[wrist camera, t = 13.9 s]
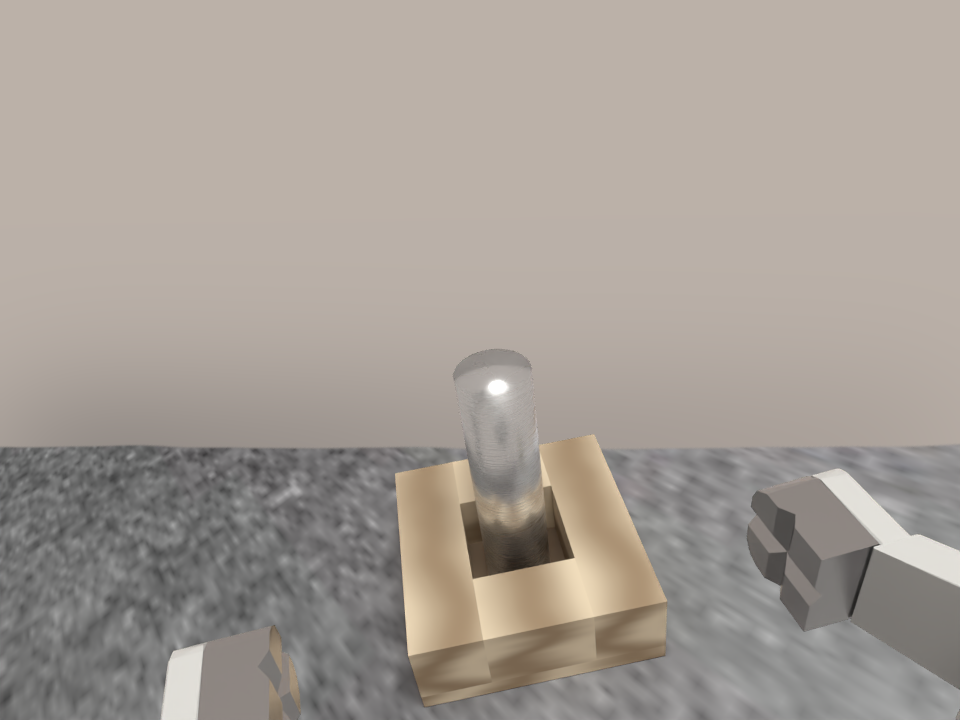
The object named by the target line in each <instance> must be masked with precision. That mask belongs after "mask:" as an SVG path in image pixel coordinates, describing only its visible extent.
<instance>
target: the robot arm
mask: <svg viewBox="0 0 960 720" xmlns="http://www.w3.org/2000/svg"><path fill="white" fill-rule="evenodd" d="M751 508H752V509H753V510H754V511H755V513H756V514H757V515H756V516H755V517H754V518H753V519H752V521H751V522H750V523H749V524H748V530H747V542H748V546H749V550H750V554H751V556H752V558H753V560H754V562H755V564H756V566H757V567H758V569H759V570H760V572H761V573H762V575H763V576H764V578H766V579H768V580H770V581H772V582H774V583H776V584H778V585H780V586H781V588H780V600H781V601H782V603H783V604H784V605H785V607H786V608H787V609H788V611H789V612H790V614H791V615H792V616H793V618H794V619H795V620H796V622H797V623H798V625H799V626H800V627H801V629H802V630H803V631H804V632H805V631H808V630H812V629H816V628H819V627H823V626H827V625H830V624H834V623H837V622H841V621H845V620H848V619H851V622H852V623H854V624H855V625H857V626H858V627H860V628H862V629H863V630H865V631H866V632H868V633H870V634H871V635H873V636H874V637H876V638H878V639H879V640H881V641H882V642H884V643H886V644H887V645H889V646H890V647H892V648H894V649H895V650H897V651H898V652H900V653H902V654H903V655H905V656H906V657H908V658H910V659H911V660H913V661H914V662H916V663H918V664H919V665H921V666H922V667H924V668H926V669H927V670H929V671H930V672H932V673H934V674H935V675H937V676H938V677H940V678H942V679H943V680H945V681H946V682H948V683H950V684H951V685H953V686H954V687H956V688H958V689H959V690H960V551H958V550H956V549H953V548H951V547H948V546H946V545H944V544H941V543H939V542H936V541H934V540H932V539H929V538H927V537H924V536H922V535H920V534H917V535H913V536H910V535H909V534H908V533H907V532H906V531H905V530H904V529H903V528H902V527H901V526H900V525H899V524H898V523H897V522H896V521H895V520H894V519H893V518H892V517H891V516H890V515H889V514H888V513H887V512H886V511H885V510H884V509H883V508H882V507H881V506H880V505H879V504H878V503H877V502H876V501H875V500H874V499H873V498H872V497H871V496H870V495H869V494H868V493H867V492H866V491H865V490H864V489H863V488H862V487H861V486H860V485H859V484H858V483H857V482H856V481H855V480H854V479H853V478H852V477H851V476H850V475H849V474H848V473H847V472H845V471H843V470H841V469H839V468H838V469H834V470H830V471H826V472H823V473H819V474H816V475H812V476H810V477H809V476H806V477H802V478H799V479H796V480H792V481H789V482H785V483H782V484H779V485H775V486H772V487H768V488H765V489H761V490H758V491H757V492H756V493H755V494H754V495H753V497H752V503H751ZM300 715H301V711H300V695H299V688H298V682H297V676H296V673H295V669H294V666H293V663H292V661H291V658H290V656H289V654H287V653H284V652H282V651H281V637H280V635H279V633H278V631H277V629H276V627H275V625H274V626H270V627H266V628H262V629H258V630H254V631H250V632H246V633H242V634H238V635H234V636H230V637H226V638H222V639H218V640H214V641H210V642H206V643H202V644H198V645H195V646H191V647H187V648H183V649H180V650H176V651H173V653H172V655H171V658H170V660H169V662H168V667H167V675H166V682H165V690H164V697H163V705H162V712H161V720H298V718H299V716H300ZM956 720H960V710H959V712H958V714H957V716H956Z"/></svg>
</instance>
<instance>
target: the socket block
mask: <svg viewBox="0 0 960 720" xmlns="http://www.w3.org/2000/svg"><path fill="white" fill-rule="evenodd" d="M539 450H540V461H541V471H542V481H543V492H544V502H545V512H546V522H547V533H548V543H549V553H550V563H548V564H544V565H539V566H534V567H529V568H524V569H519V570H514V571H510V572H505V573H500V574H495V575H490V576H489V575H488V569H487V563H486V558H485V552H484V546H483V541H482V535H481V530H480V524H479V518H478V513H477V507H476V501H475V496H474V490H473V485H472V479H471V473H470V468H469V462H468V459H466V460H461V461H456V462H451V463H446V464H441V465H436V466H431V467H426V468H421V469H416V470H410V471H405V472H400V473H395V478H396V492H397V506H398V520H399V534H400V548H401V562H402V576H403V590H404V604H405V618H406V632H407V646H408V657H409V660H410V663H411V666H412V670H413V673H414V676H415V679H416V682H417V685H418V688H419V692H420V695H421V698H422V701H423V704H424V707H428V706H433V705H437V704H442V703H447V702H451V701H456V700H461V699H465V698H470V697H475V696H479V695H484V694H489V693H493V692H498V691H503V690H507V689H512V688H516V687H521V686H526V685H530V684H535V683H540V682H544V681H549V680H554V679H558V678H563V677H568V676H572V675H577V674H582V673H586V672H591V671H596V670H600V669H605V668H610V667H614V666H619V665H624V664H628V663H633V662H638V661H642V660H647V659H652V658H656V657H661V656H665V646H666V619H667V600H666V598H665V595H664V593H663V591H662V589H661V586H660V584H659V582H658V579H657V577H656V575H655V573H654V570H653V568H652V566H651V563H650V561H649V559H648V557H647V554H646V552H645V550H644V547H643V545H642V543H641V541H640V538H639V536H638V534H637V531H636V529H635V527H634V524H633V522H632V520H631V518H630V515H629V513H628V511H627V508H626V506H625V504H624V502H623V499H622V497H621V495H620V492H619V490H618V488H617V486H616V483H615V481H614V479H613V476H612V474H611V472H610V470H609V467H608V465H607V463H606V460H605V458H604V456H603V454H602V451H601V449H600V447H599V445H598V442H597V440H596V438H595V435H594V434H593V435H588V436H583V437H577V438H572V439H568V440H562V441H557V442H552V443H547V444H542V445H539Z"/></svg>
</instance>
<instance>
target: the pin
mask: <svg viewBox="0 0 960 720" xmlns="http://www.w3.org/2000/svg"><path fill="white" fill-rule="evenodd" d="M454 383H455V389H456V394H457V400H458V406H459V411H460V417H461V423H462V428H463V434H464V440H465V445H466V451H467V457H468V462H469V468H470V473H471V479H472V485H473V490H474V496H475V501H476V507H477V513H478V518H479V524H480V530H481V535H482V541H483V546H484V552H485V558H486V563H487V569H488V575H489V576H490V575H495V574H500V573H505V572H510V571H514V570H519V569H524V568H529V567H534V566H539V565H544V564H548V563H550V553H549V543H548V533H547V522H546V512H545V502H544V492H543V481H542V471H541V461H540V450H539V440H538V430H537V420H536V411H535V410H536V409H535V399H534V389H533V378H532V368H531V364H530V362H529V361H528V359H527V358H525V357H524V356H523V355H521V354H519V353H517V352H515V351H511V350H505V349H491V350H485V351H481V352H477V353H475V354H472V355H470V356H468V357H467V358H465V359H464V360H462V361H461V362H460V363H459V364H458V366H457V367H456V369H455V371H454Z"/></svg>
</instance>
